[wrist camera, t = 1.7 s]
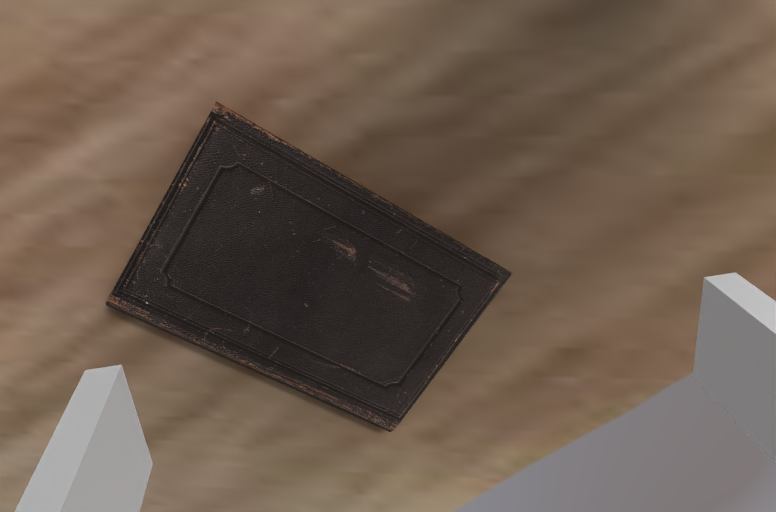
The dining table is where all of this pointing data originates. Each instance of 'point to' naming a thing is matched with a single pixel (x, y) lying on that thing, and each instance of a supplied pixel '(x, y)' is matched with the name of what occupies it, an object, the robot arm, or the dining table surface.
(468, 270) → the hardcover book
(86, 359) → the dining table surface
